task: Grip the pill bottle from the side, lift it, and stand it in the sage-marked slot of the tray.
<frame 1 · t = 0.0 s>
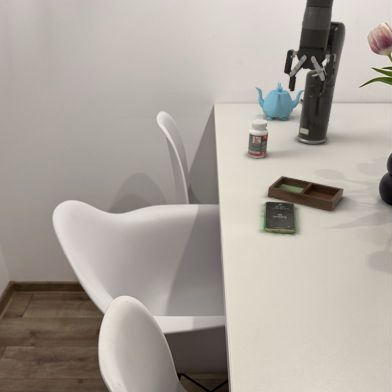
hand: (305, 92, 142), 17 cm above the table, tool pointing down, fingers open, 8 cm apart
teapot: (277, 117, 181), on the table
smartphone: (279, 219, 119), on the table
pill bottle: (256, 155, 151), on the table
tray: (304, 197, 128), on the table
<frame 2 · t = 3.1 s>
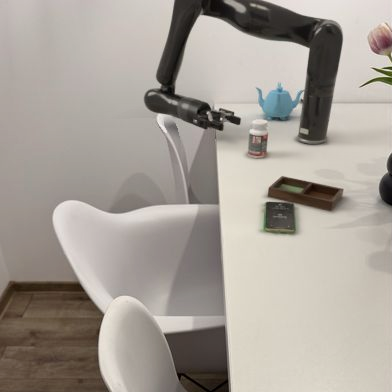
hand: (231, 124, 152), 7 cm above the table, tool horizontal, fingers open, 8 cm apart
nothing on the table moved.
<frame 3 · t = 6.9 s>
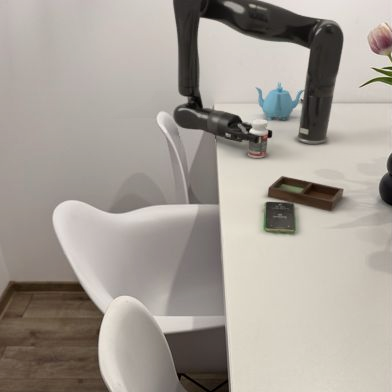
hand: (264, 137, 146), 6 cm above the table, tool horizontal, fingers closed on pill bottle, 5 cm apart
pill bottle: (256, 155, 151), on the table, touching gripper
everything else where it was.
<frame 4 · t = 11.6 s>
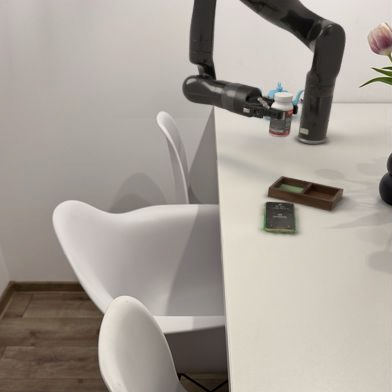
hand: (289, 112, 125), 18 cm above the table, tool horizontal, fingers closed on pill bottle, 5 cm apart
pill bottle: (279, 135, 131), point 11 cm above the table, touching gripper
everything else where it was.
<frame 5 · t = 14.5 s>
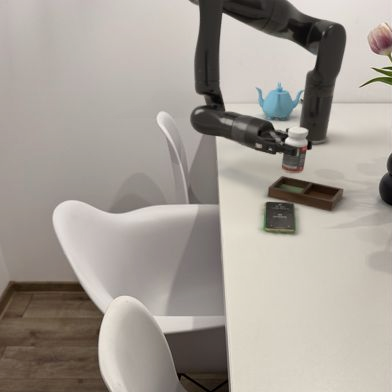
hand: (303, 148, 120), 12 cm above the table, tool horizontal, fingers closed on pill bottle, 5 cm apart
pill bottle: (292, 170, 125), point 6 cm above the table, touching gripper
everything else where it was.
when the fingers open (7 cm above the table, at t = 16.6 s): pill bottle stays where it is, resting on tray.
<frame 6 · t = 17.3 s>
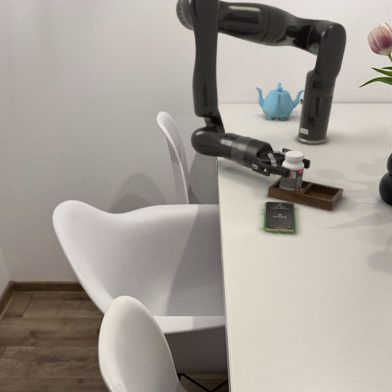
hand: (299, 169, 124), 7 cm above the table, tool horizontal, fingers open, 8 cm apart
pill bottle: (289, 192, 129), point 1 cm above the table, touching tray
everything else where it was.
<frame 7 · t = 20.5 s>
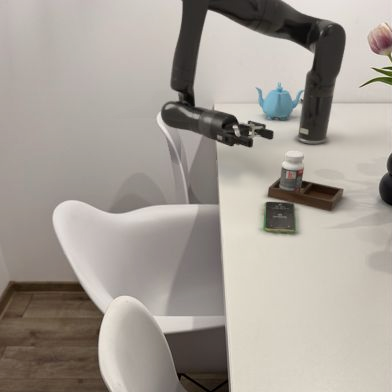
hand: (262, 139, 128), 12 cm above the table, tool horizontal, fingers open, 8 cm apart
nothing on the table moved.
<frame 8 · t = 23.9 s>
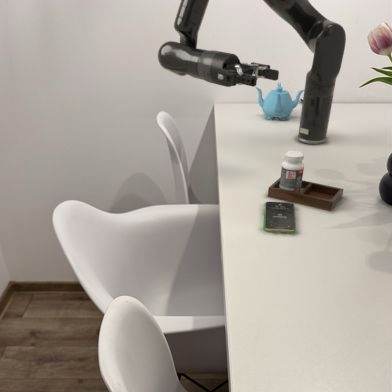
hand: (267, 78, 118), 26 cm above the table, tool horizontal, fingers open, 8 cm apart
nothing on the table moved.
at the end: pill bottle 0.2 cm from the target spot in the tray, point 0.5 cm above the tray's base; pill bottle tilted 0°; the gripper is holding nothing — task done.
